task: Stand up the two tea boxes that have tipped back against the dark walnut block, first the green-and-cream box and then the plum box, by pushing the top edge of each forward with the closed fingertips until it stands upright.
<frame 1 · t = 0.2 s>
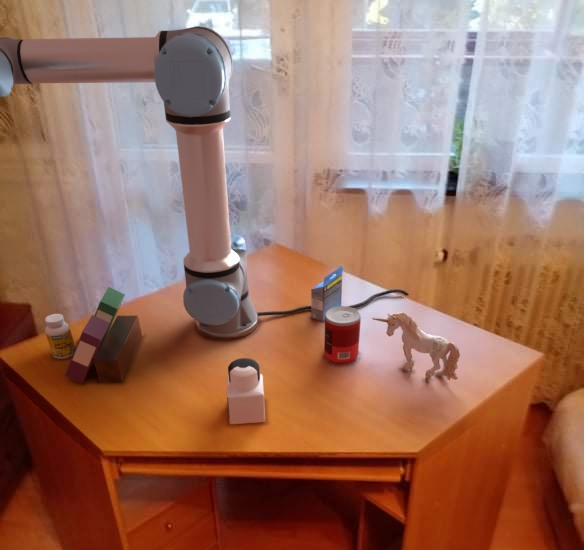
plum tea box: (87, 349, 128), point 7 cm above the table, hinge at 30.0°
green tea box: (103, 319, 138), point 7 cm above the table, hinge at 30.0°
tape cartridge: (326, 313, 153), on the table
unicorn figurine: (410, 377, 130), on the table
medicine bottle: (247, 413, 121), on the table
canned food: (341, 356, 137), on the table
supplement bottle: (64, 354, 139), on the table
walnut block: (122, 358, 137), on the table
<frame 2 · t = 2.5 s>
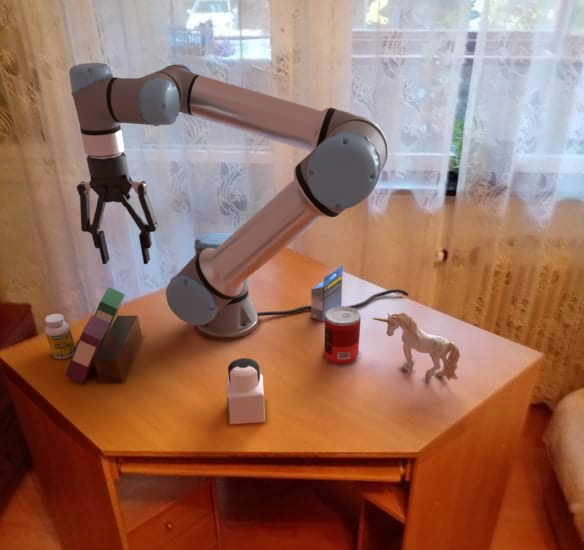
hand: (126, 261, 129), 21 cm above the table, tool pointing down, fingers open, 8 cm apart
nothing on the table moved.
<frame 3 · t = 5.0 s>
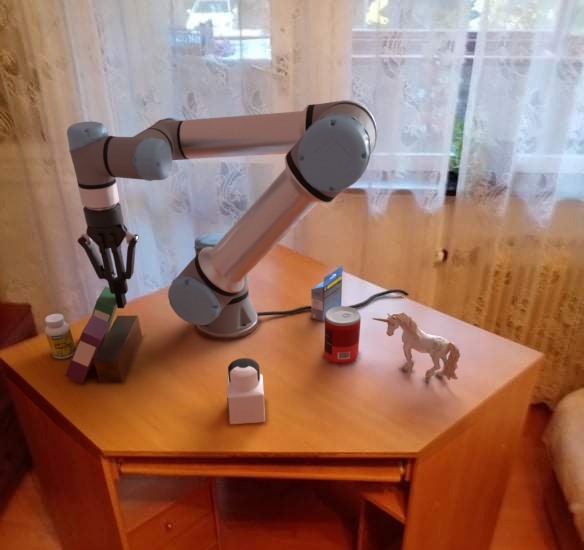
hand: (122, 305, 136), 10 cm above the table, tool pointing down, fingers closed
green tea box: (102, 318, 138), point 7 cm above the table, hinge at 26.6°, touching gripper
everything else where it was.
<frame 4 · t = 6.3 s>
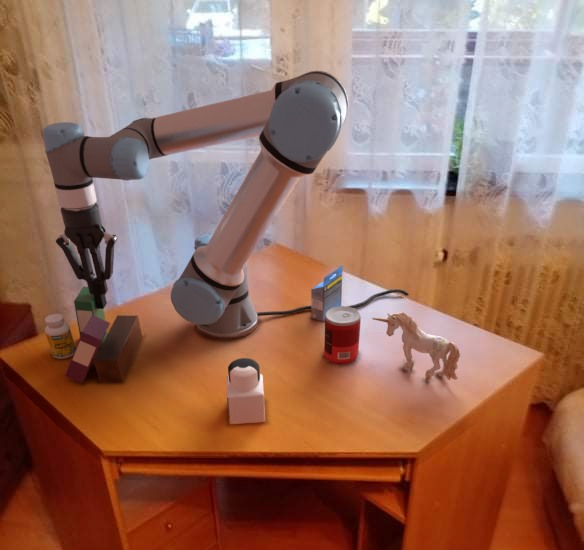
hand: (102, 305, 136), 10 cm above the table, tool pointing down, fingers closed
green tea box: (91, 319, 138), point 7 cm above the table, hinge at 4.7°
everything else where it was.
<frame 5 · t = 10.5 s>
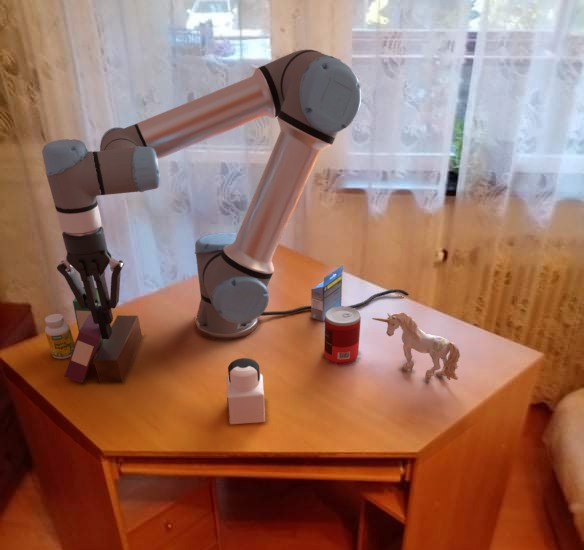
hand: (107, 335, 126), 10 cm above the table, tool pointing down, fingers closed
plum tea box: (85, 349, 128), point 7 cm above the table, hinge at 27.4°, touching gripper
green tea box: (90, 319, 138), point 7 cm above the table, hinge at 3.5°
everything else where it was.
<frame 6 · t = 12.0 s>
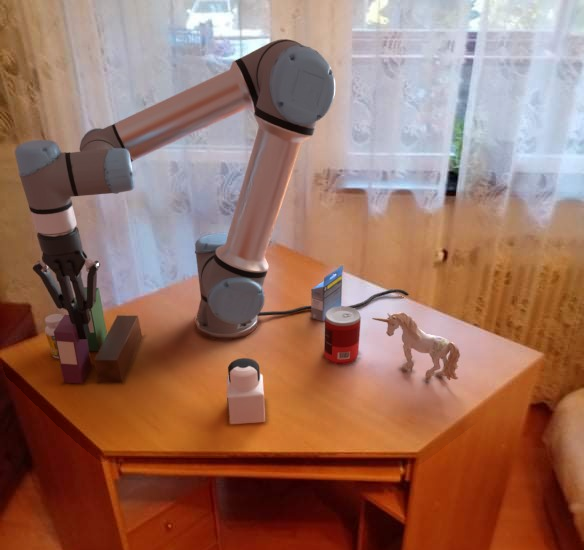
hand: (84, 335, 126), 10 cm above the table, tool pointing down, fingers closed
plum tea box: (73, 349, 128), point 7 cm above the table, hinge at 4.7°
green tea box: (90, 319, 138), point 7 cm above the table, hinge at 3.0°
everything else where it was.
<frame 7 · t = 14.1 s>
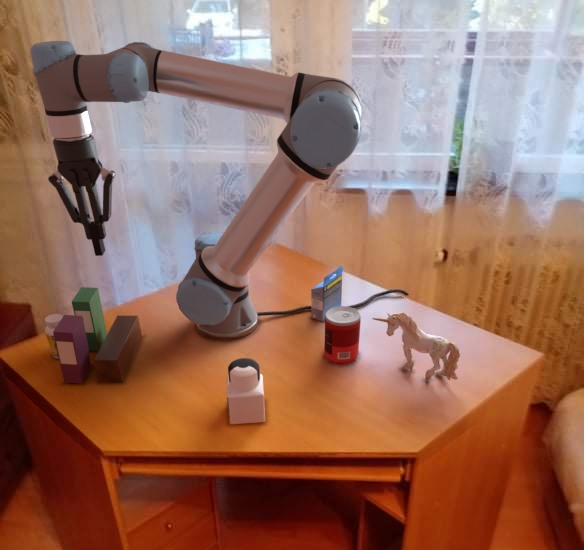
hand: (100, 252, 126), 24 cm above the table, tool pointing down, fingers closed
plum tea box: (73, 349, 128), point 7 cm above the table, hinge at 4.2°
green tea box: (90, 319, 138), point 7 cm above the table, hinge at 2.2°
everything else where it was.
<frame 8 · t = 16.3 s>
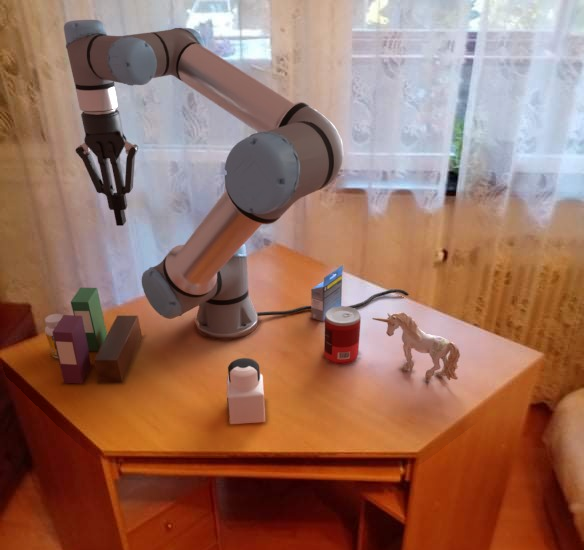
hand: (121, 223, 134), 26 cm above the table, tool pointing down, fingers closed
plum tea box: (72, 349, 128), point 7 cm above the table, hinge at 3.5°
green tea box: (89, 319, 138), point 7 cm above the table, hinge at 1.2°
everything else where it was.
at the end: green tea box at +1° (first picture: +30°); plum tea box at +4° (first picture: +30°) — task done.
